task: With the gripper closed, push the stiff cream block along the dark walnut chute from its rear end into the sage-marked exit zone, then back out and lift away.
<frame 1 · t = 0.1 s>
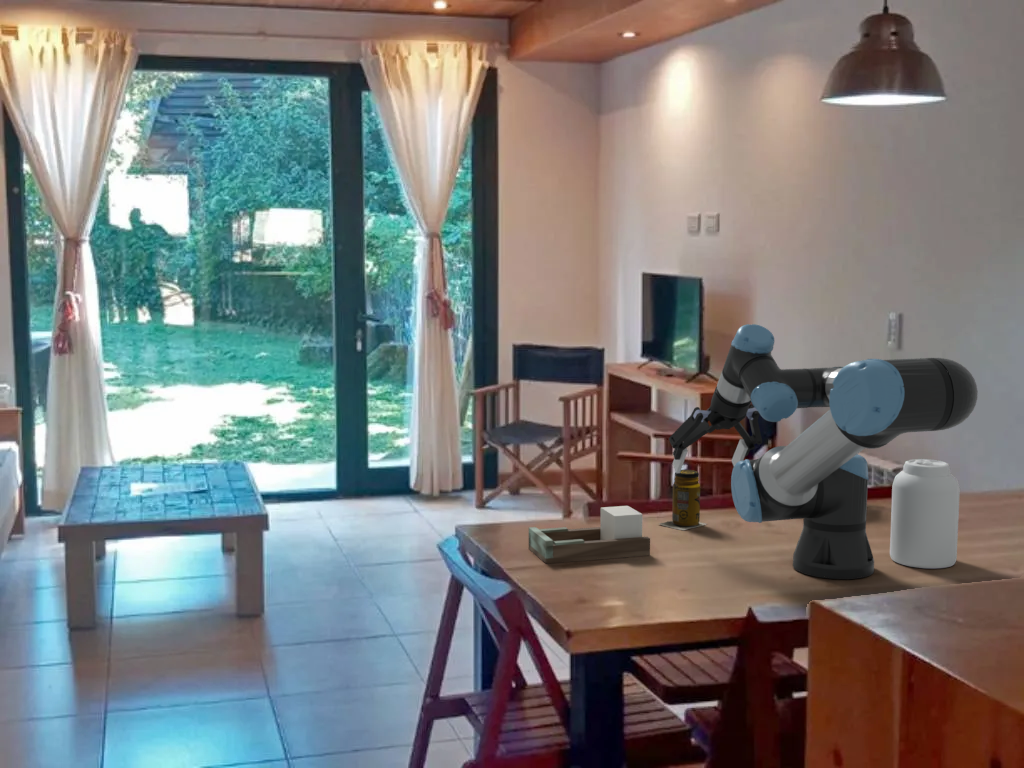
hand: (705, 467, 252), 15 cm above the table, tool tilted 35°, fingers open, 13 cm apart
can: (922, 562, 236), on the table
cream block: (621, 527, 244), point 5 cm above the table, slide at 0.0 cm
ceramic bowl: (813, 506, 285), on the table
condiment: (682, 525, 266), on the table
walnut chute: (588, 552, 243), on the table
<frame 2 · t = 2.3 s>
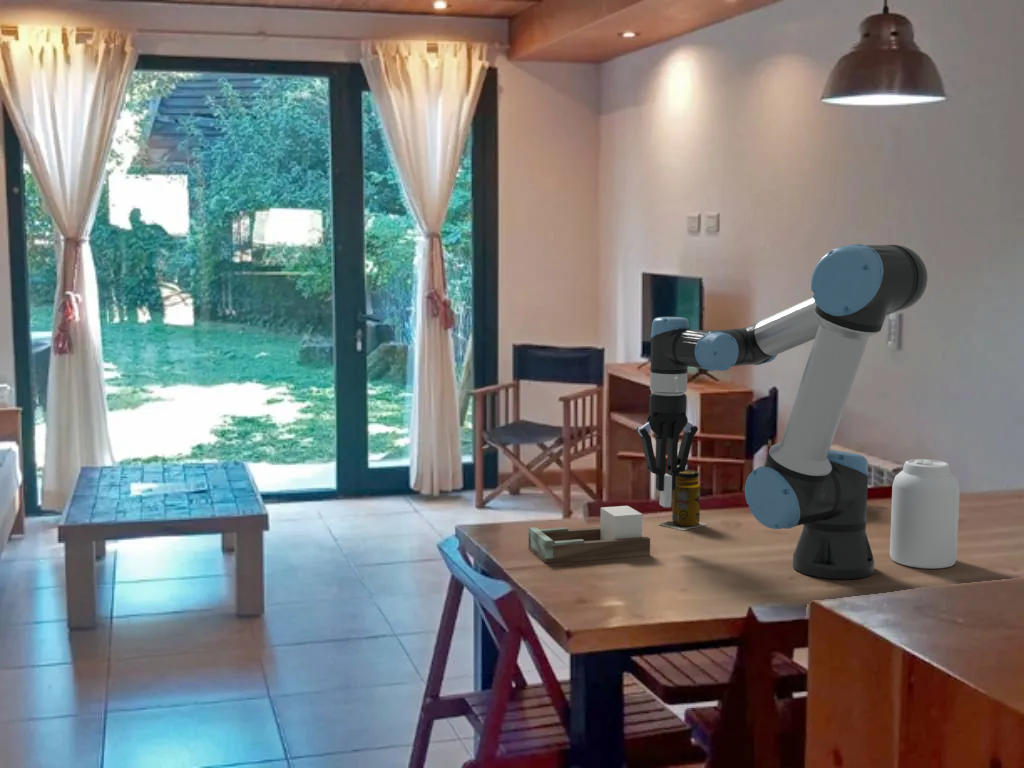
hand: (665, 505, 247), 8 cm above the table, tool pointing down, fingers closed
nothing on the table moved.
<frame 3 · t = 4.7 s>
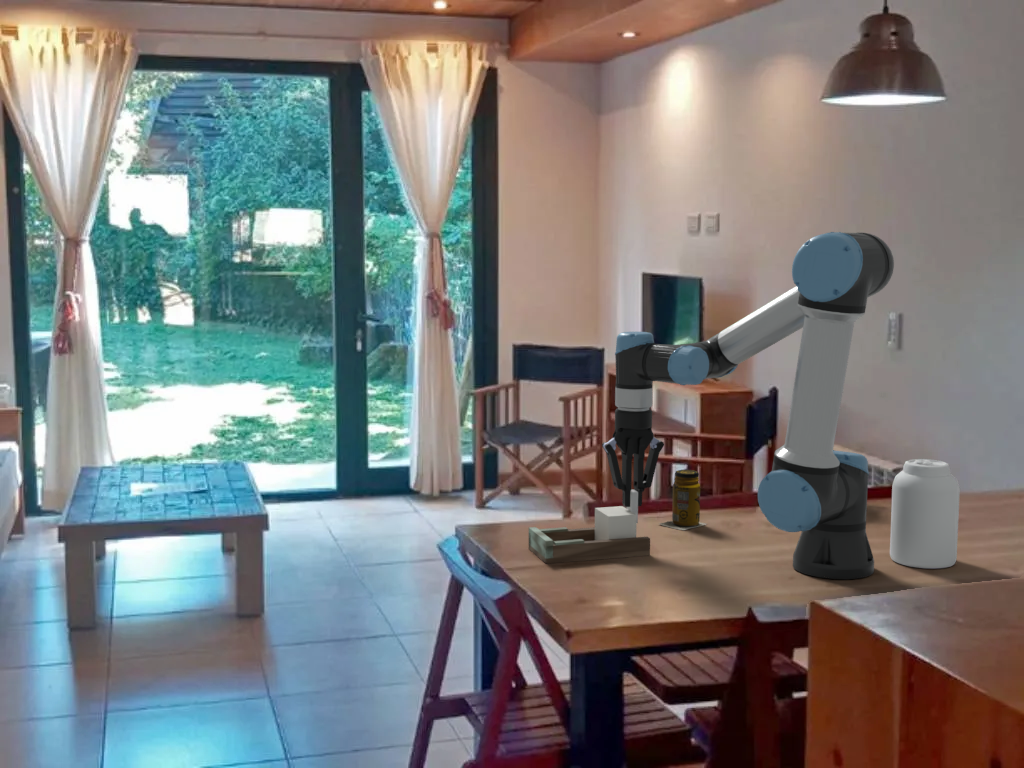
hand: (631, 521, 245), 6 cm above the table, tool pointing down, fingers closed
cream block: (615, 528, 244), point 5 cm above the table, slide at 1.3 cm, touching gripper
everything else where it was.
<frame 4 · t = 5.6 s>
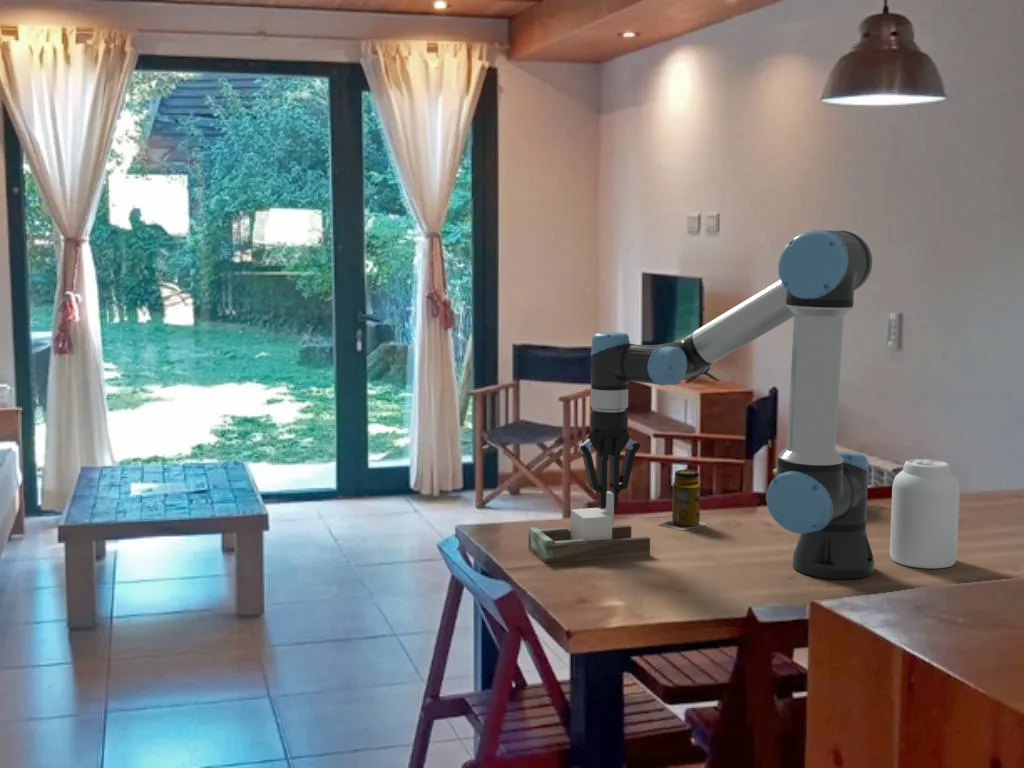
hand: (607, 523, 244), 6 cm above the table, tool pointing down, fingers closed
cream block: (591, 529, 243), point 5 cm above the table, slide at 6.5 cm, touching gripper
everything else where it was.
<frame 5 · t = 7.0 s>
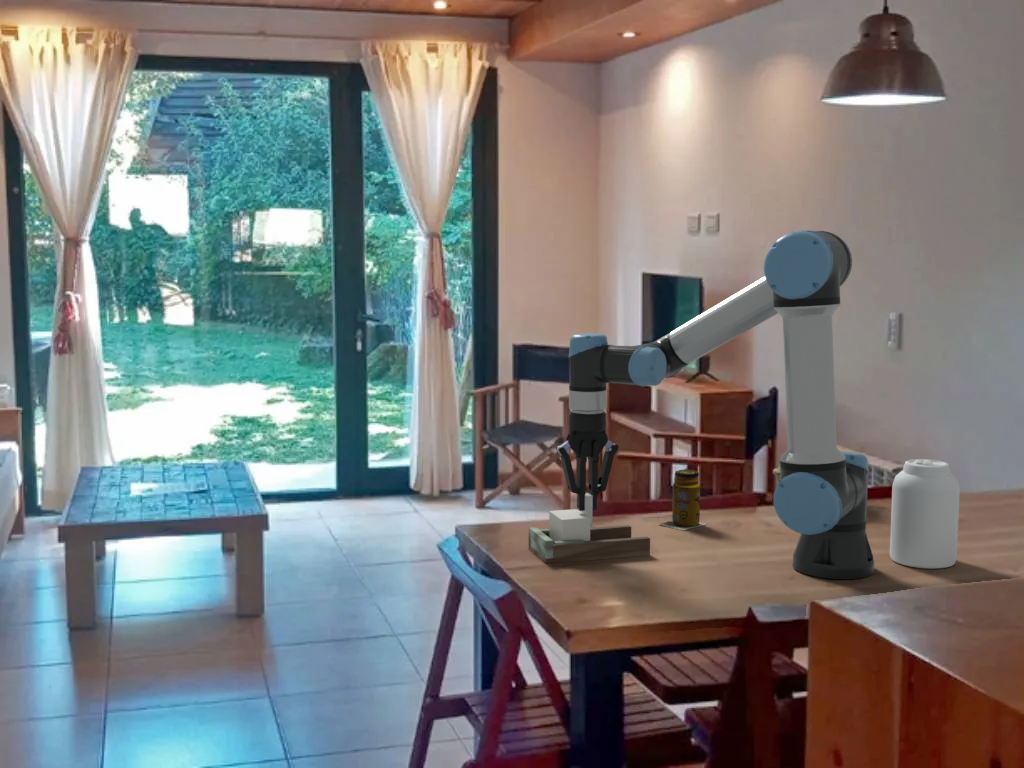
hand: (586, 525, 242), 5 cm above the table, tool pointing down, fingers closed
cream block: (569, 531, 241), point 5 cm above the table, slide at 11.2 cm, touching gripper
everything else where it was.
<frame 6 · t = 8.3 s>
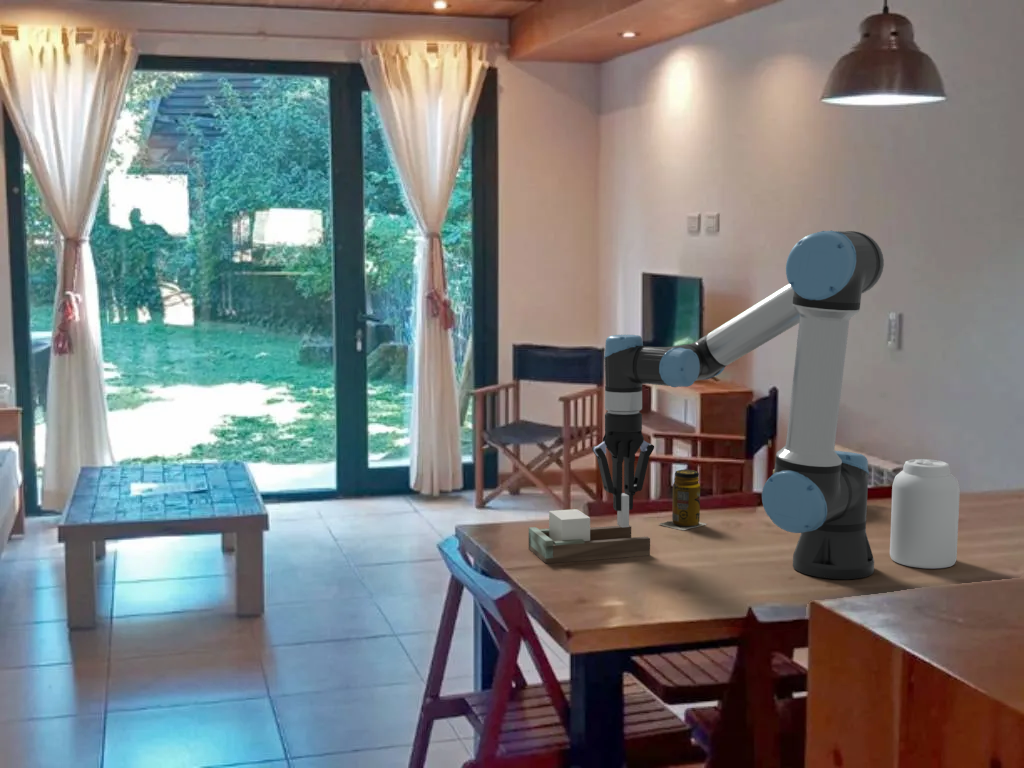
hand: (623, 525, 244), 5 cm above the table, tool pointing down, fingers closed
cream block: (569, 531, 241), point 5 cm above the table, slide at 11.2 cm
everything else where it was.
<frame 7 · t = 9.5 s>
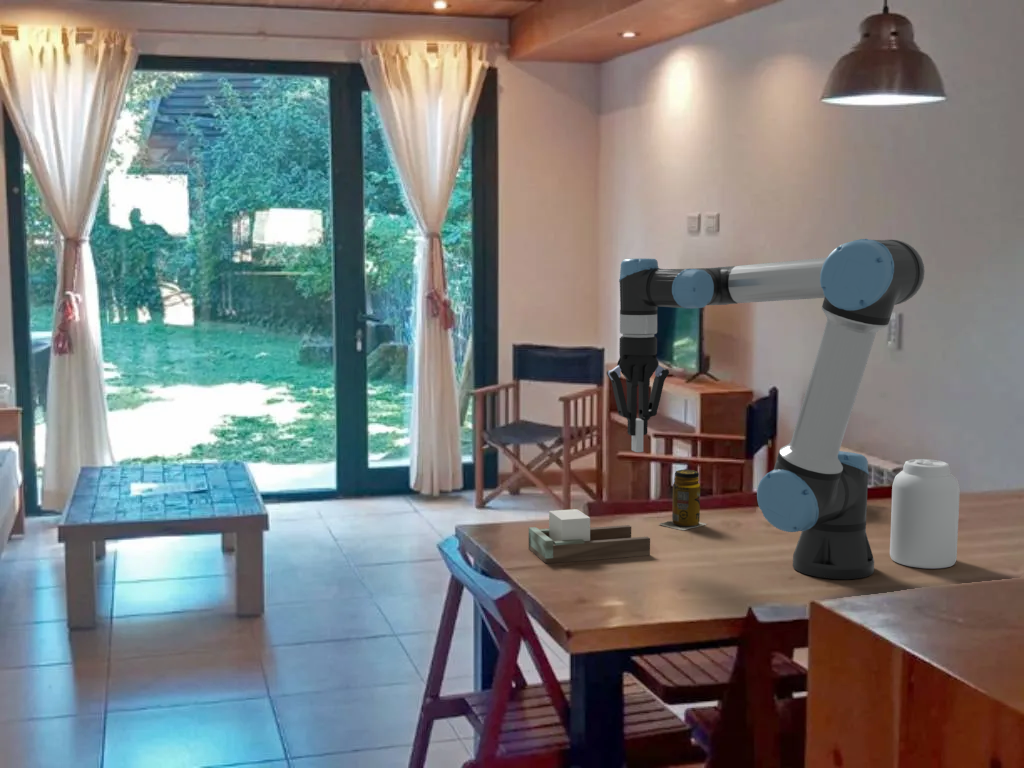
hand: (637, 450, 243), 20 cm above the table, tool pointing down, fingers closed
nothing on the table moved.
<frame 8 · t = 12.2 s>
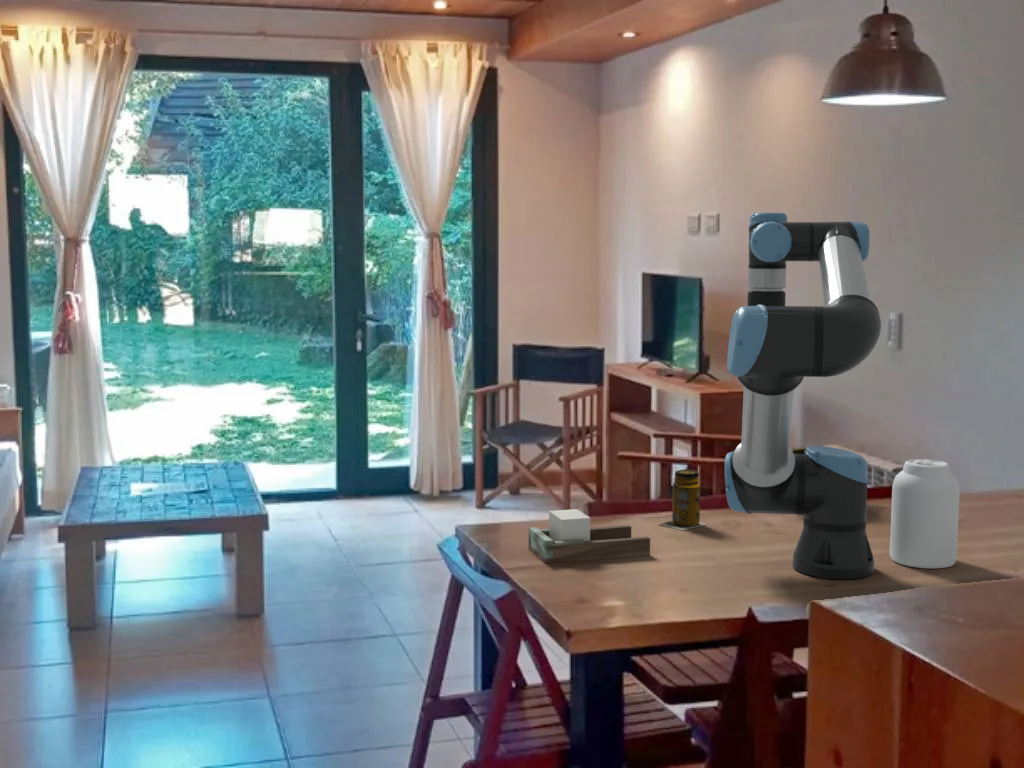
hand: (763, 405, 245), 29 cm above the table, tool pointing down, fingers closed
nothing on the table moved.
at the end: cream block slide at 11.2 cm; condiment moved 0.3 cm from its start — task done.
